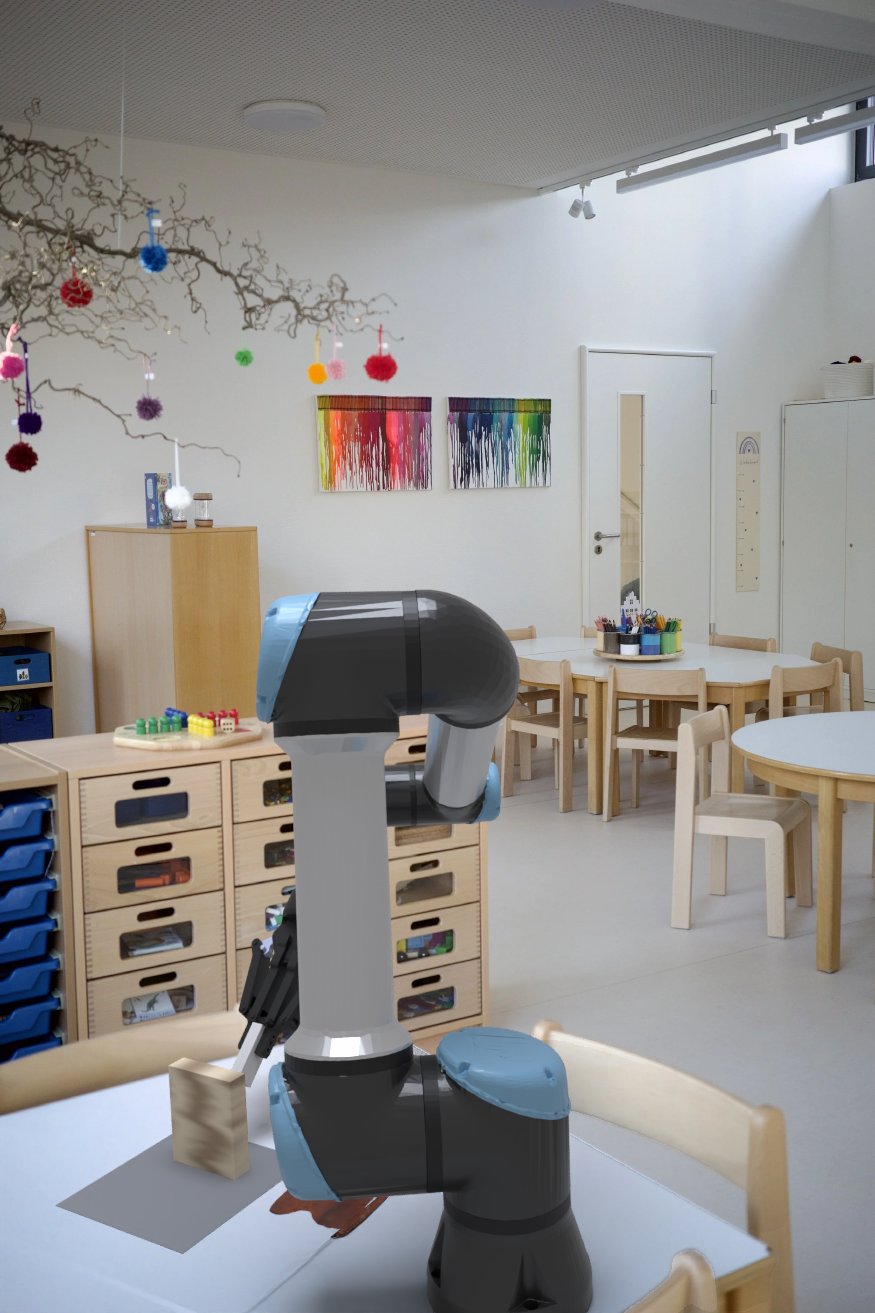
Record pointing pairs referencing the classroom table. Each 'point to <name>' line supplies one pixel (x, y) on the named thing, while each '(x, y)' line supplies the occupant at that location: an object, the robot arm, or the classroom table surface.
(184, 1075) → the beech board
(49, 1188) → the classroom table surface
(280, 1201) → the wooden tablet
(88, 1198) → the grey mat
